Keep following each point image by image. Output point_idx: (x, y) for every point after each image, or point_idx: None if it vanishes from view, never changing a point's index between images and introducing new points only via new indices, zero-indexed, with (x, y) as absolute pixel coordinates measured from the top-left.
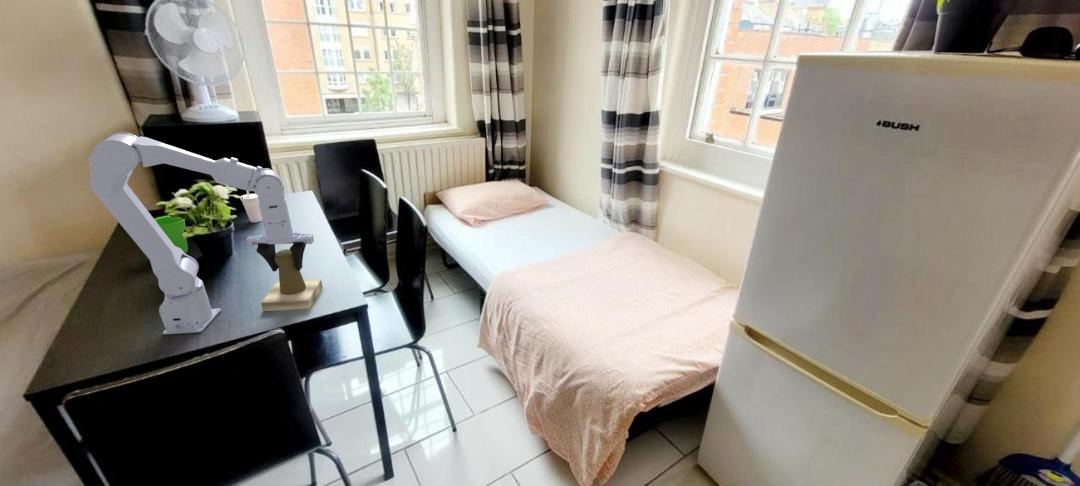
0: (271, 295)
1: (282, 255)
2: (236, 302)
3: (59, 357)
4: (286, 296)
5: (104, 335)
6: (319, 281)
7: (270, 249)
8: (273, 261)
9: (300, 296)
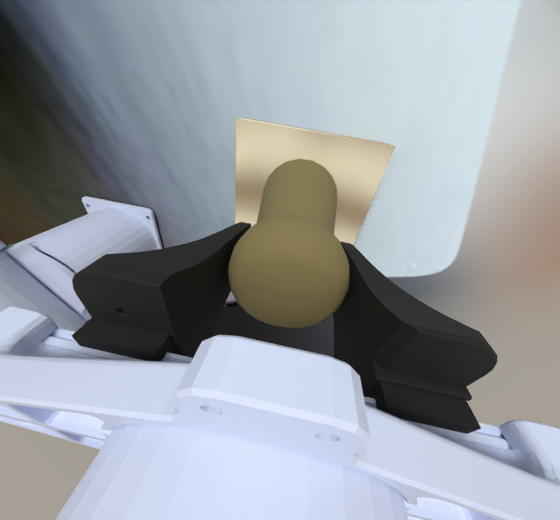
0: (248, 221)
1: (278, 324)
2: (162, 177)
3: None
4: None
5: (26, 236)
6: (386, 164)
7: (200, 327)
8: None
9: None
